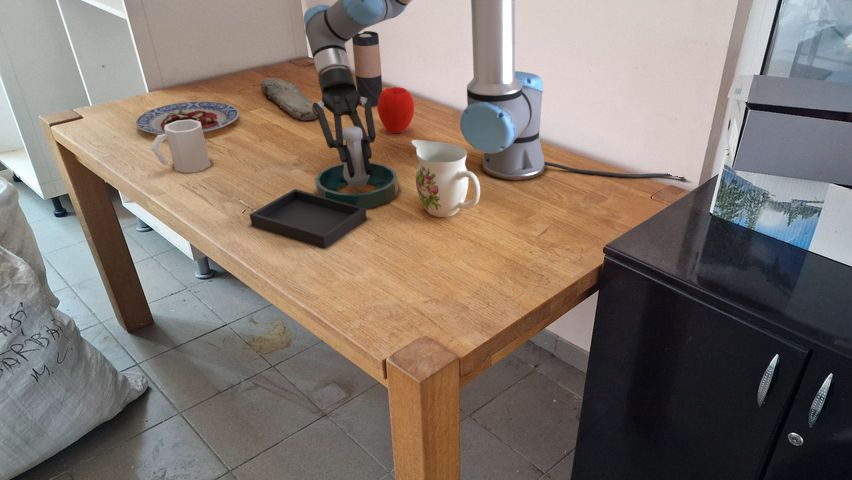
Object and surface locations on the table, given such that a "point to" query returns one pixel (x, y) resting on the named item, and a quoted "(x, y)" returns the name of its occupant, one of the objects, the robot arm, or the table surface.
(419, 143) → the pitcher
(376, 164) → the teal ring
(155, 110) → the ceramic plate
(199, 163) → the mug
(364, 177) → the salt shaker
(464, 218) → the table surface
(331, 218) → the tray
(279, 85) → the elongated rock
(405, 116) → the red vase
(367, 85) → the travel mug
